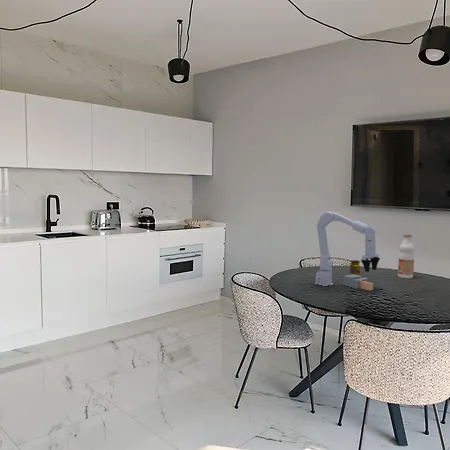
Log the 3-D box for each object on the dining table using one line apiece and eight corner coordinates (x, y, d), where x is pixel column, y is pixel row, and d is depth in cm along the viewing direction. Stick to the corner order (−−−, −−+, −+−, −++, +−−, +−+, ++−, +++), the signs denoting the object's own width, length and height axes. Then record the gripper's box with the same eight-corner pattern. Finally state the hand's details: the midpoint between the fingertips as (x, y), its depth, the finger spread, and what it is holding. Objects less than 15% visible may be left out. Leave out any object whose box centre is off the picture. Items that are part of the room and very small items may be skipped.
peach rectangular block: (356, 287, 263) (356, 280, 262) (359, 286, 265) (360, 280, 264) (369, 290, 255) (369, 283, 255) (372, 290, 257) (373, 282, 257)
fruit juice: (408, 279, 286) (410, 236, 283) (394, 276, 293) (397, 234, 290) (415, 277, 292) (418, 234, 289) (402, 275, 299) (404, 233, 296)
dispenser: (343, 285, 267) (343, 275, 266) (352, 283, 272) (353, 274, 272) (357, 288, 259) (357, 279, 258) (366, 286, 264) (367, 277, 263)
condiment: (362, 280, 282) (362, 261, 281) (349, 280, 281) (350, 261, 279) (357, 277, 289) (357, 259, 288) (344, 278, 288) (345, 259, 287)
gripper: (369, 249, 249) (370, 273, 251) (383, 246, 259) (383, 269, 260) (358, 248, 255) (359, 272, 256) (372, 245, 264) (372, 268, 265)
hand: (370, 270), depth 258 cm, fingers open, 7 cm apart
